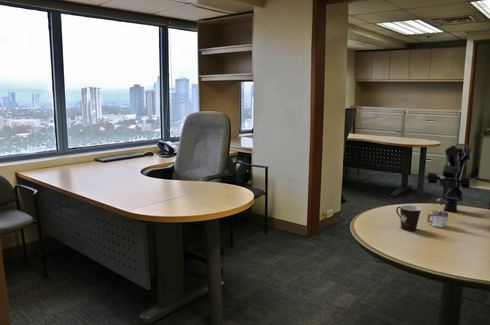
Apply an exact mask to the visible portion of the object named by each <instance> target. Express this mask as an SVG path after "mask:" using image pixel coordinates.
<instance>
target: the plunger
mask: <svg viewBox="0 0 490 325" xmlns="http://www.w3.org/2000/svg"><path fill="white" fill-rule="evenodd" d="M436 203H437V204H439V210H438V211H439V214H441V213H442V212H443V205H445V204H447V199H443V197H438V198H436Z"/></svg>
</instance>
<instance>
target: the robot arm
mask: <svg viewBox="0 0 490 325" xmlns="http://www.w3.org/2000/svg"><path fill="white" fill-rule="evenodd" d="M471 158H472V150H471V149H470V148H469V147H468V144H466V143H456V145H451V146H450V147H447V148H446V149H445V161H446V162H445V164H444V165H443V168H442V174H441V175H440V176H438V173H435V172H428V173H427V175H426V178H427V183H428V184H437V183H438V182H439V186H441V187H442V198H443V199H447V204H444V206H443V212H451V213H458V202H461V201H463V197H464V196H463V194H464V193H463V191H462V189H461V188H463V189H470V188H471V185H472V183H471V182H472V181H471V180H472V179H471V178H470V177H468V176H462V174H463V171H464V167H466V166H467V165H468V164H469V161H471Z"/></svg>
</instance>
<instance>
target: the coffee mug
mask: <svg viewBox="0 0 490 325" xmlns="http://www.w3.org/2000/svg"><path fill="white" fill-rule="evenodd" d="M399 209H400V214H399V212H398V210H399ZM421 210H422V208H420V207H419V206H415V205H410V204H403V205H400V206H397V207H396V210H395V211H396V213H397V215H398V217H399V219H400V230H403V231H406V232H416V231H417V227H418V223H419V219H420V215H421Z"/></svg>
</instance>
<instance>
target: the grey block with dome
mask: <svg viewBox="0 0 490 325" xmlns="http://www.w3.org/2000/svg"><path fill="white" fill-rule="evenodd" d="M439 211H440V210H432V213H431V214H430V213H427V220H426V221H427V223H430V225H431V226H432V227H434V228H438V229H447V228H448V221H449V219H448V218H449V213H448V211H442V213H441V214H439ZM430 219H431V220H430Z"/></svg>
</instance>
